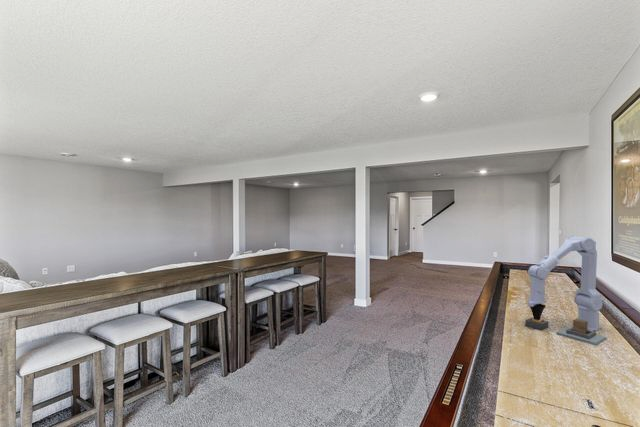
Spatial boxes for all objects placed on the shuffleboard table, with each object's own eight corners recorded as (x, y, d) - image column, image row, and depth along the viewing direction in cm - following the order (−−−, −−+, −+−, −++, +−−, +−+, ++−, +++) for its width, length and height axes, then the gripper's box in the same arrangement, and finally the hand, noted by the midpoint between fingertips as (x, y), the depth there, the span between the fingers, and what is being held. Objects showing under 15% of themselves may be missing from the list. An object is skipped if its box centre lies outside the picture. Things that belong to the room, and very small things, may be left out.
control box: (531, 323, 157) (532, 317, 157) (548, 327, 151) (548, 321, 151) (525, 326, 153) (525, 319, 153) (541, 330, 147) (542, 324, 147)
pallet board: (567, 328, 150) (567, 323, 150) (606, 339, 138) (606, 333, 138) (556, 334, 143) (556, 328, 143) (596, 345, 131) (596, 339, 131)
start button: (534, 321, 155) (534, 317, 155) (543, 324, 151) (543, 319, 151) (530, 323, 152) (530, 318, 152) (539, 325, 149) (539, 321, 149)
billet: (576, 331, 143) (576, 318, 143) (587, 334, 140) (587, 321, 140) (573, 333, 141) (573, 320, 141) (584, 336, 138) (584, 322, 138)
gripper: (534, 287, 159) (534, 314, 159) (521, 291, 151) (520, 319, 151) (551, 290, 153) (550, 318, 153) (537, 294, 145) (537, 324, 145)
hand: (536, 319), depth 152 cm, fingers closed, pressing on start button
